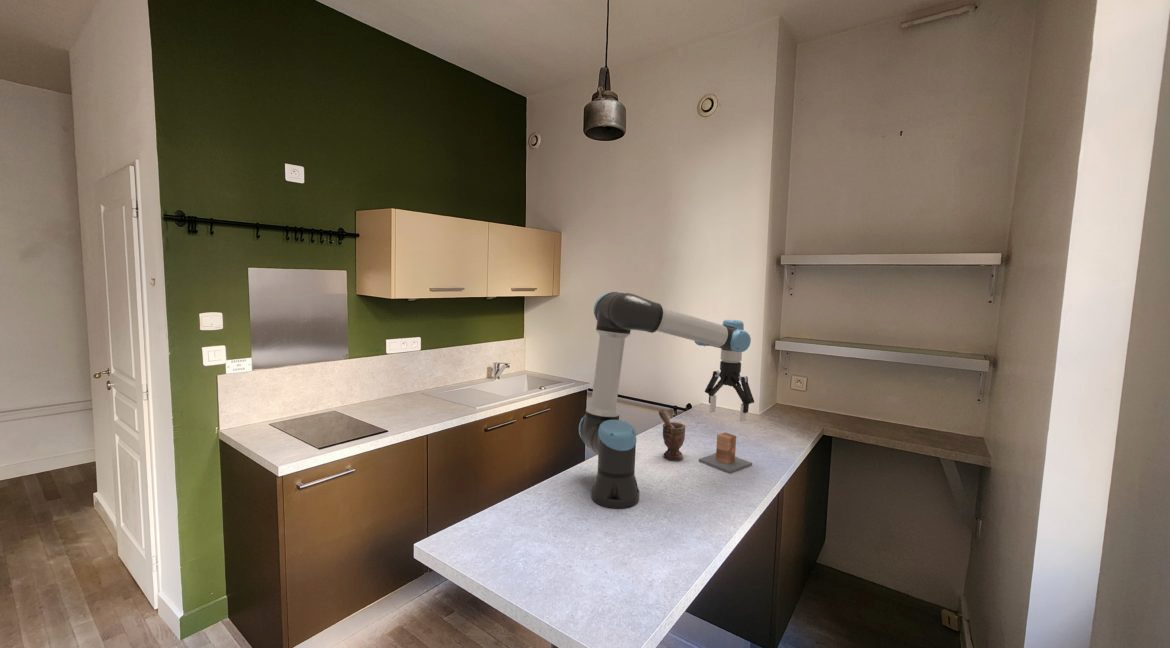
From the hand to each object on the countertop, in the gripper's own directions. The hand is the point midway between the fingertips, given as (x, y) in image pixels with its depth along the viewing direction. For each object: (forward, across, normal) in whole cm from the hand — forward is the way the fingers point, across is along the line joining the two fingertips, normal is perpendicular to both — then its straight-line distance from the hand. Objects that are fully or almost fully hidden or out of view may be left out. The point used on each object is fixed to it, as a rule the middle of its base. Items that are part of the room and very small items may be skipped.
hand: (727, 416), depth 178 cm
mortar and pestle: (+19, +15, +13) cm, 27 cm away
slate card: (+18, 0, -1) cm, 18 cm away
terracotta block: (+17, 0, -1) cm, 17 cm away
